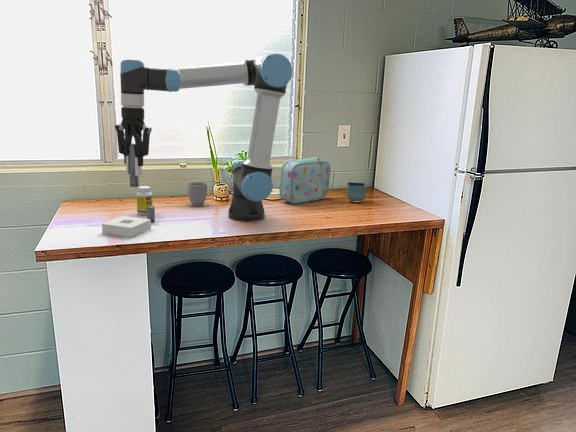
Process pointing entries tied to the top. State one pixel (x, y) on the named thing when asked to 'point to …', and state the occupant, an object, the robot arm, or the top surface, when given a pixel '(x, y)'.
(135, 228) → the socket block
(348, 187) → the flower pot
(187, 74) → the robot arm
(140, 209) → the pill bottle
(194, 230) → the top surface
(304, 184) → the lunch box
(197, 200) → the mug
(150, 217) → the short pin
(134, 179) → the long pin
